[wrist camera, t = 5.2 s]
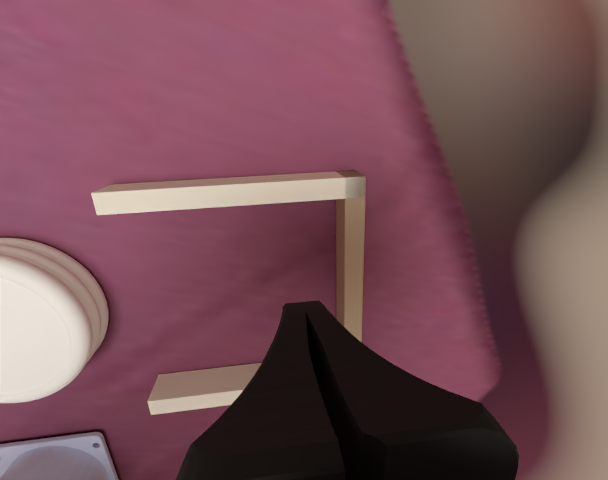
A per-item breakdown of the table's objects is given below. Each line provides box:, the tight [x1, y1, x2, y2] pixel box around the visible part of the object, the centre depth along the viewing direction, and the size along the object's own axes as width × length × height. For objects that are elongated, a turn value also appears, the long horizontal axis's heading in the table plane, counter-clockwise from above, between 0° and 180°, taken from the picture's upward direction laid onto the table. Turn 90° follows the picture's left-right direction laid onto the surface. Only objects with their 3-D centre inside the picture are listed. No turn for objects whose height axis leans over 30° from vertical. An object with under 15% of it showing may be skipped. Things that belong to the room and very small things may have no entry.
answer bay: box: [91, 170, 366, 415], centre depth 21 cm, size 15×15×2 cm
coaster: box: [0, 238, 109, 403], centre depth 20 cm, size 10×10×4 cm
